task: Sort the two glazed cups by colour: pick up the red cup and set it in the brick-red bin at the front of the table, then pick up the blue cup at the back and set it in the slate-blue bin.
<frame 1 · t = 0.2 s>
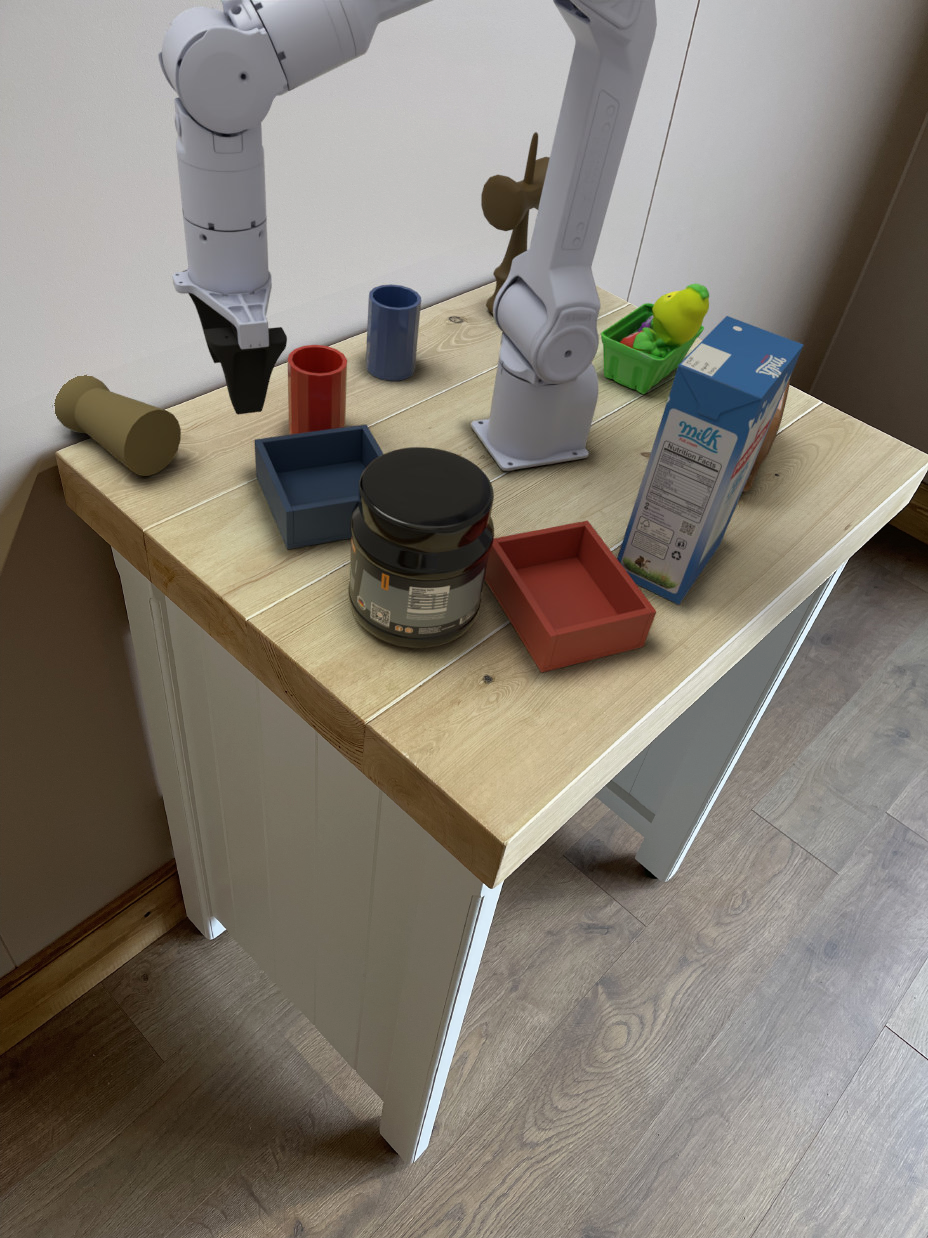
hand: (236, 384, 74), 10 cm above the table, tool pointing down, fingers open, 7 cm apart
supplement container: (413, 607, 73), on the table
red bin: (560, 610, 75), on the table
tin: (741, 466, 93), on the table
blue cup: (390, 367, 98), on the table
olive brown flared cylinder: (154, 443, 79), point 3 cm above the table
milk carton: (667, 560, 81), on the table
fruit basket: (646, 374, 103), on the table
kendama: (506, 313, 110), on the table
red cup: (317, 434, 88), on the table
blue bin: (328, 502, 81), on the table
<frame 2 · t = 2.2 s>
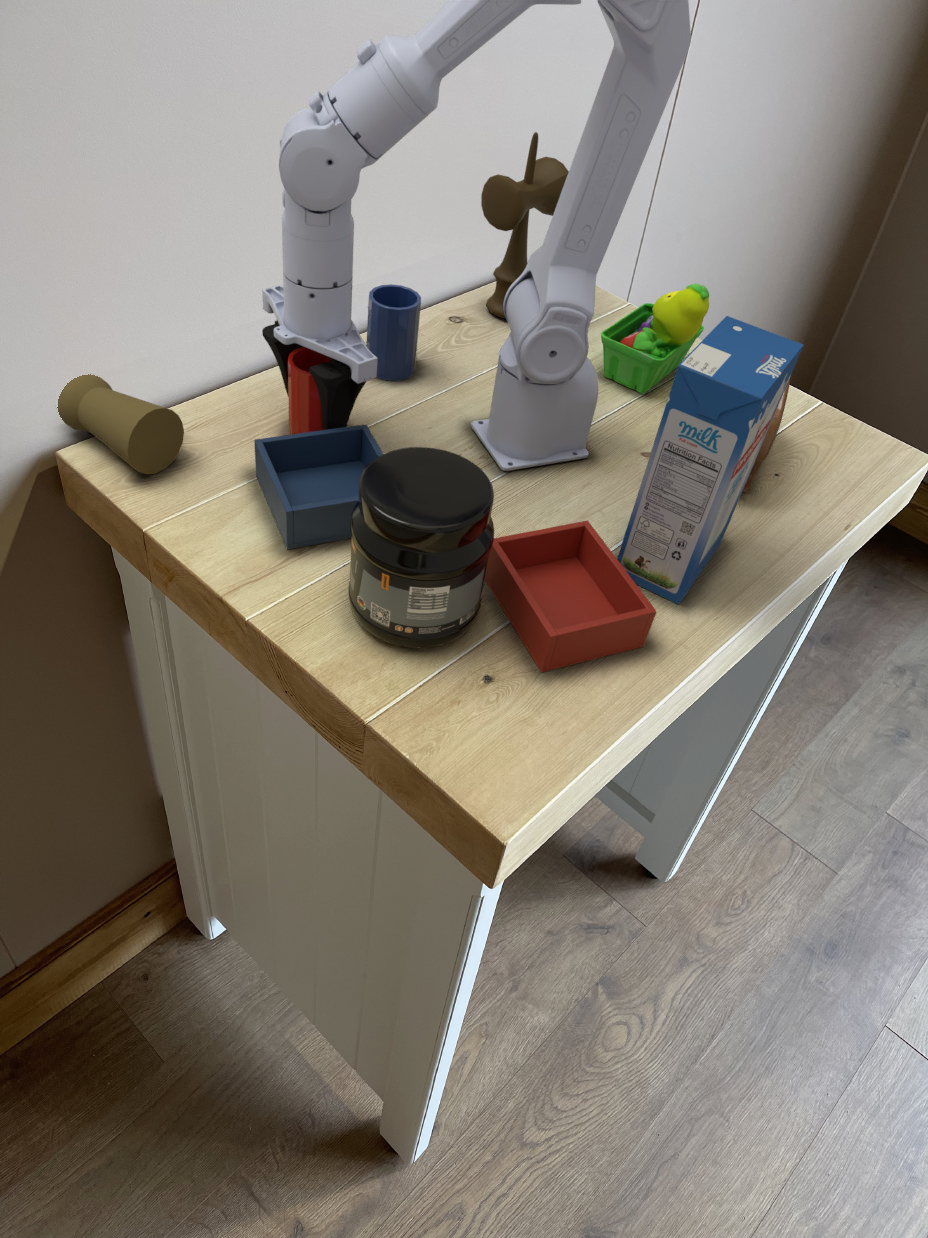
hand: (317, 413, 86), 2 cm above the table, tool pointing down, fingers closed on red cup, 5 cm apart
red cup: (317, 435, 88), on the table, touching gripper
everything else where it was.
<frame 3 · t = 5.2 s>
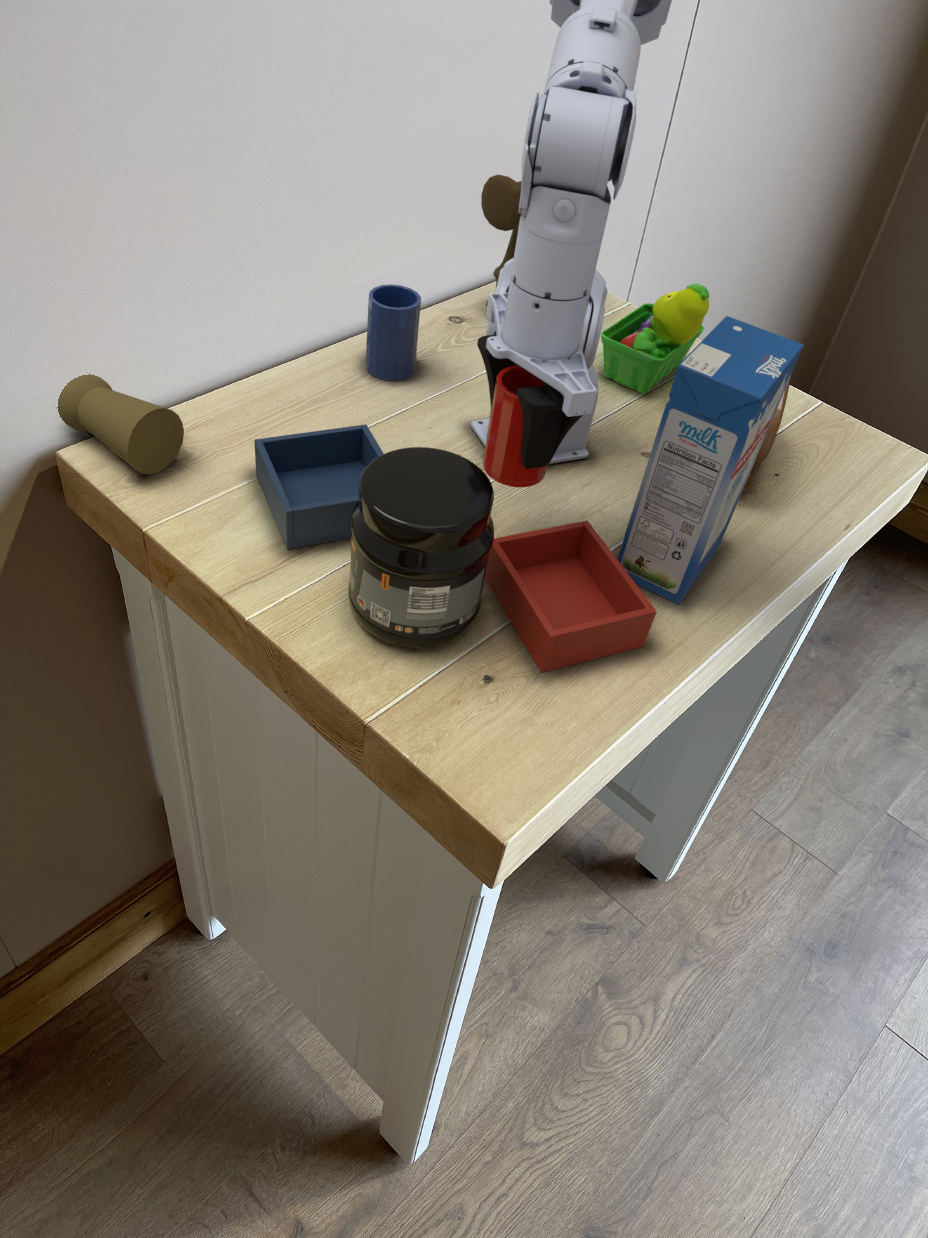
hand: (519, 443, 74), 9 cm above the table, tool pointing down, fingers closed on red cup, 5 cm apart
red cup: (514, 468, 76), point 7 cm above the table, touching gripper
everything else where it was.
when the fingers open (3 cm above the table, at t = 8.3 s): red cup stays where it is, resting on red bin.
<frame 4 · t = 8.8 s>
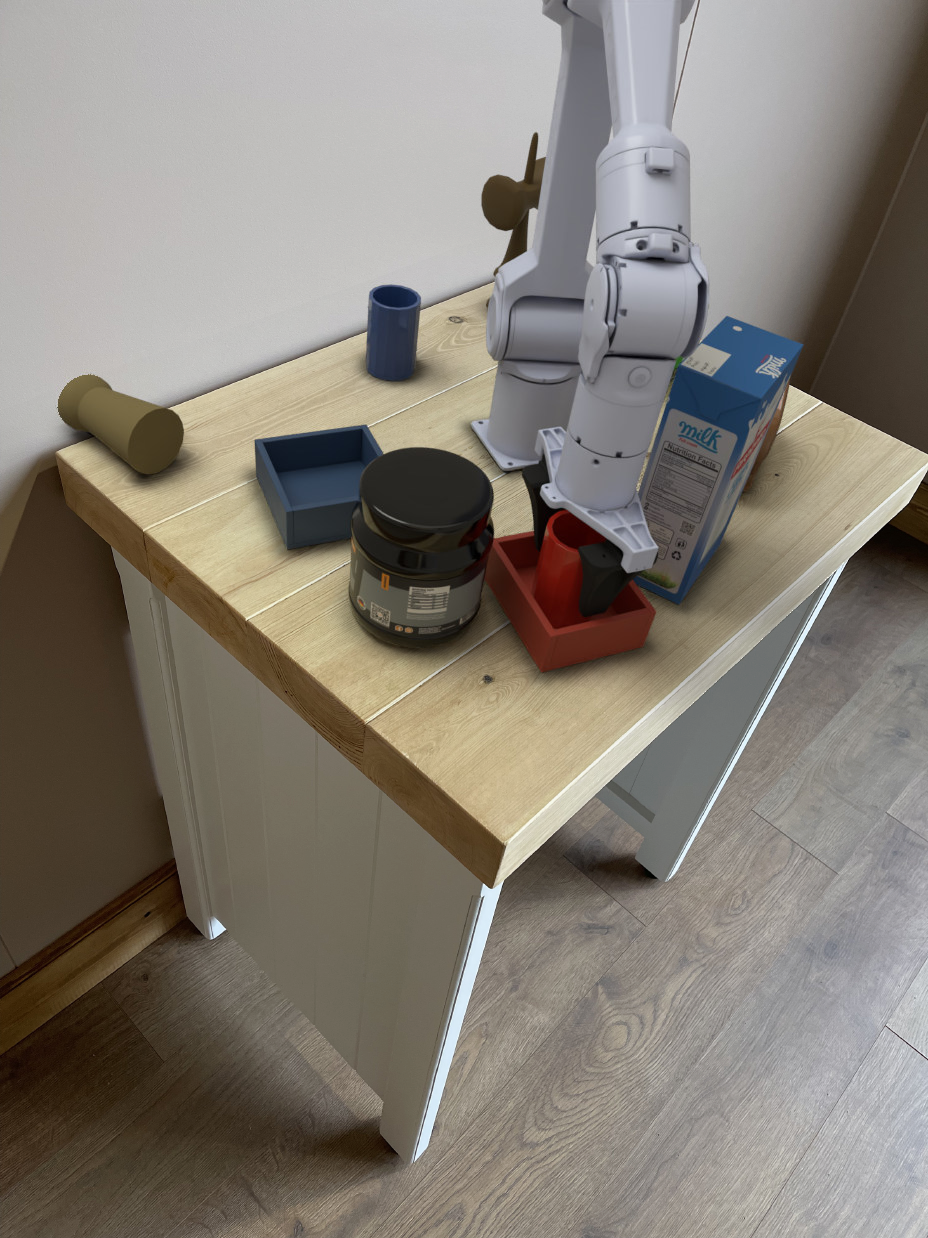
hand: (569, 578, 72), 4 cm above the table, tool pointing down, fingers open, 7 cm apart
red cup: (561, 606, 74), resting on red bin
everything else where it was.
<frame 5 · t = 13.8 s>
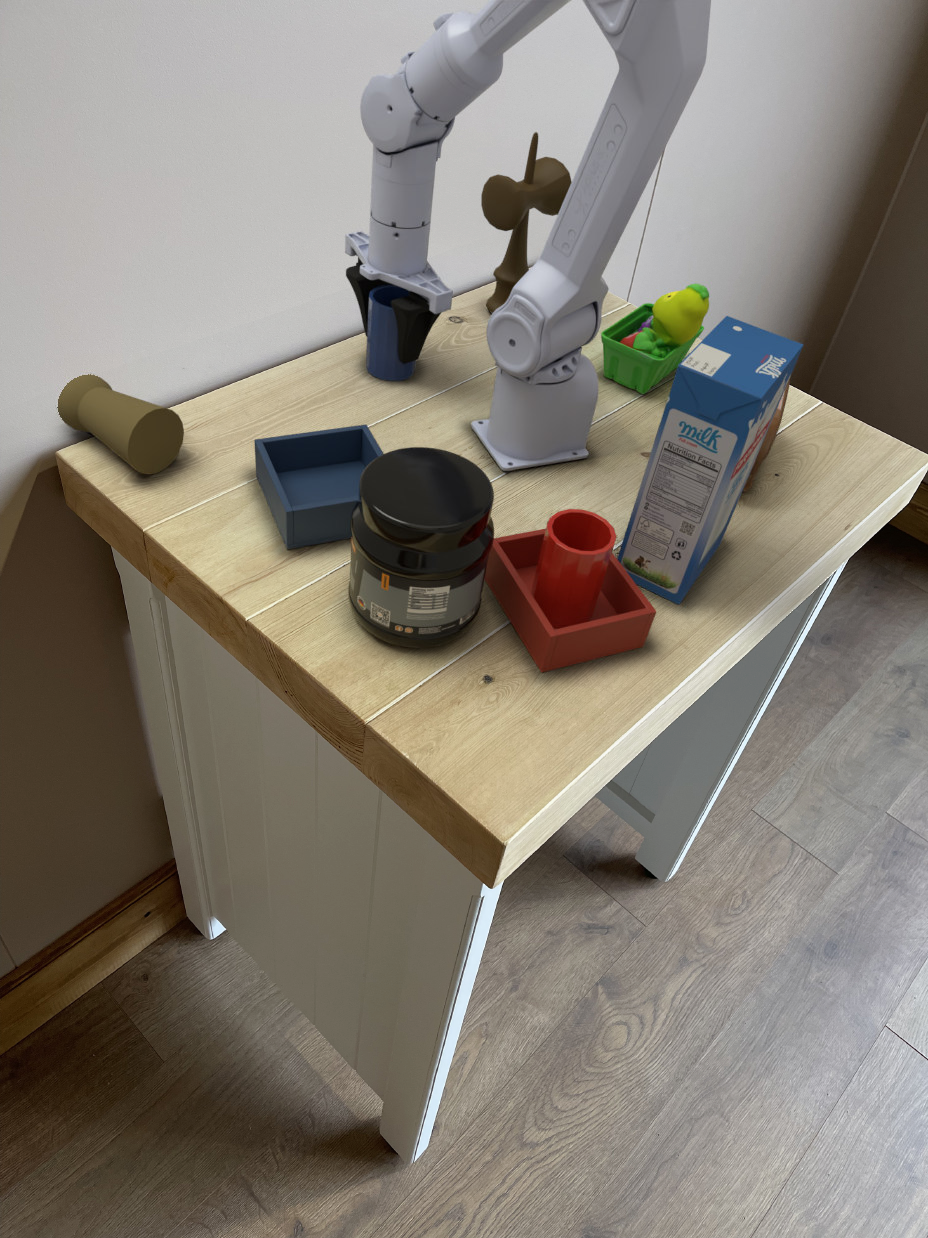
hand: (391, 347, 96), 2 cm above the table, tool pointing down, fingers closed on blue cup, 5 cm apart
blue cup: (390, 367, 98), on the table, touching gripper
everything else where it was.
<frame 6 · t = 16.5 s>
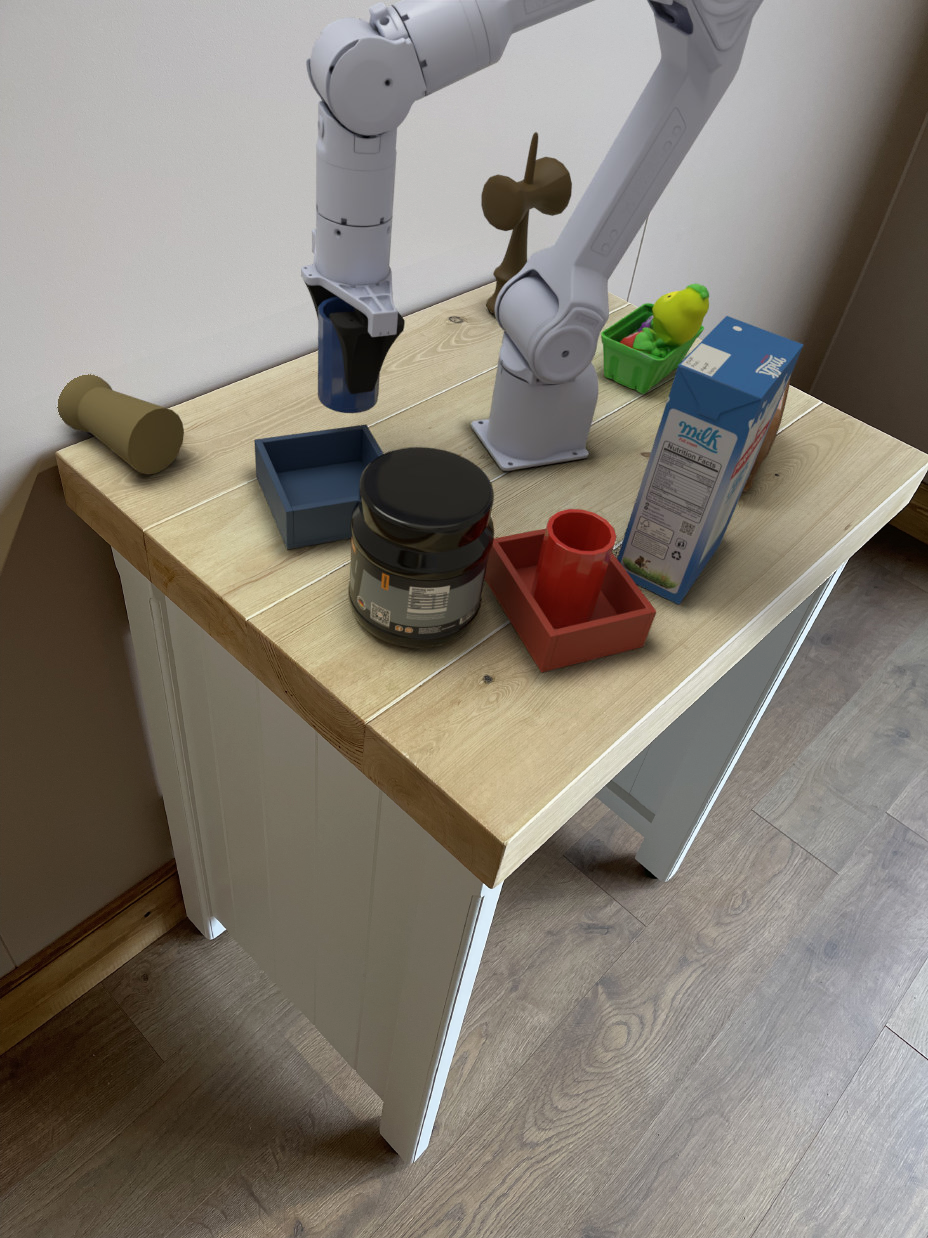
hand: (349, 371, 78), 9 cm above the table, tool pointing down, fingers closed on blue cup, 5 cm apart
blue cup: (347, 396, 80), point 7 cm above the table, touching gripper
everything else where it was.
when the fingers open (3 cm above the table, at t = 19.2 s): blue cup stays where it is, resting on blue bin.
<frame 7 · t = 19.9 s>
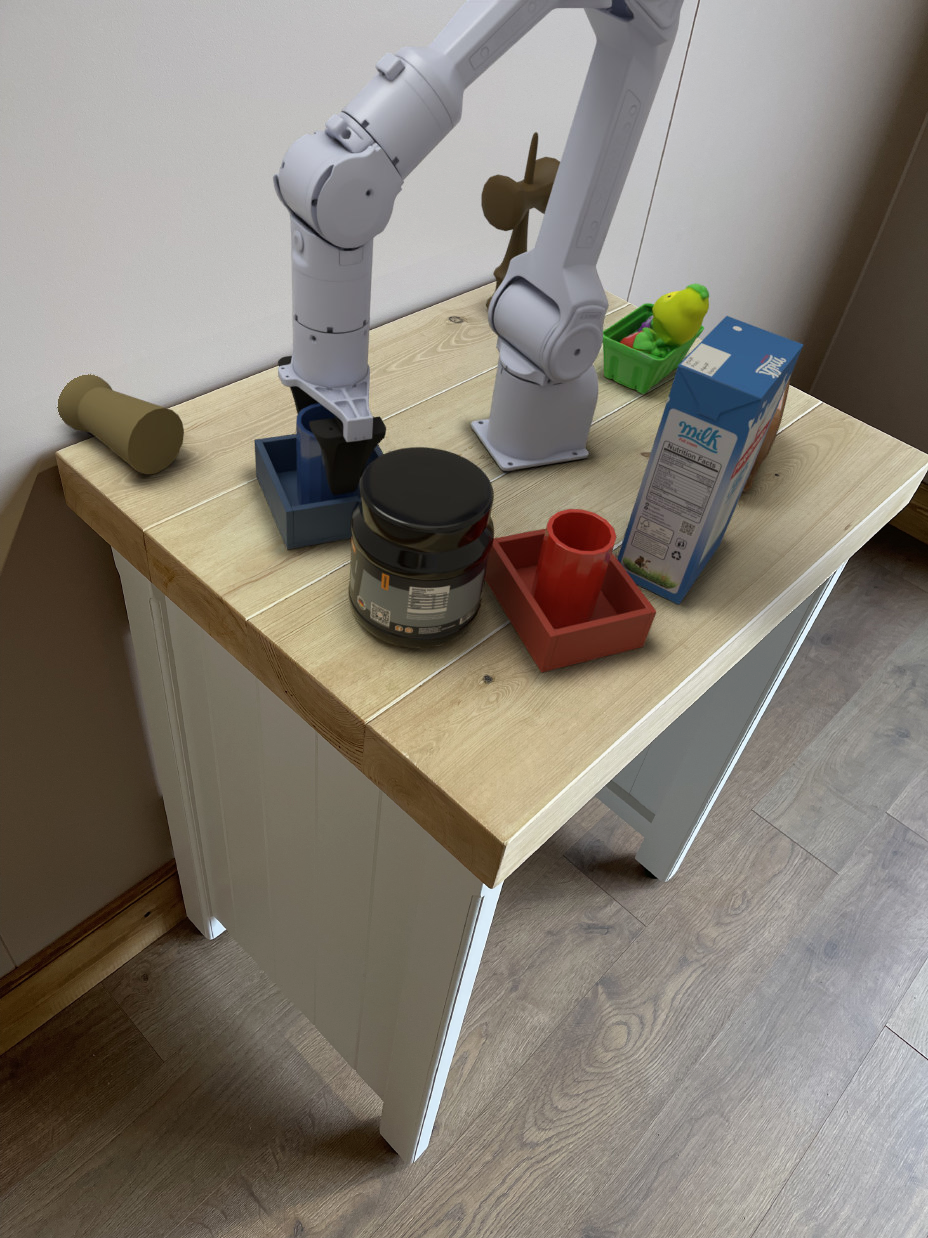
hand: (329, 463, 78), 4 cm above the table, tool pointing down, fingers open, 7 cm apart
blue cup: (327, 498, 80), resting on blue bin
everything else where it was.
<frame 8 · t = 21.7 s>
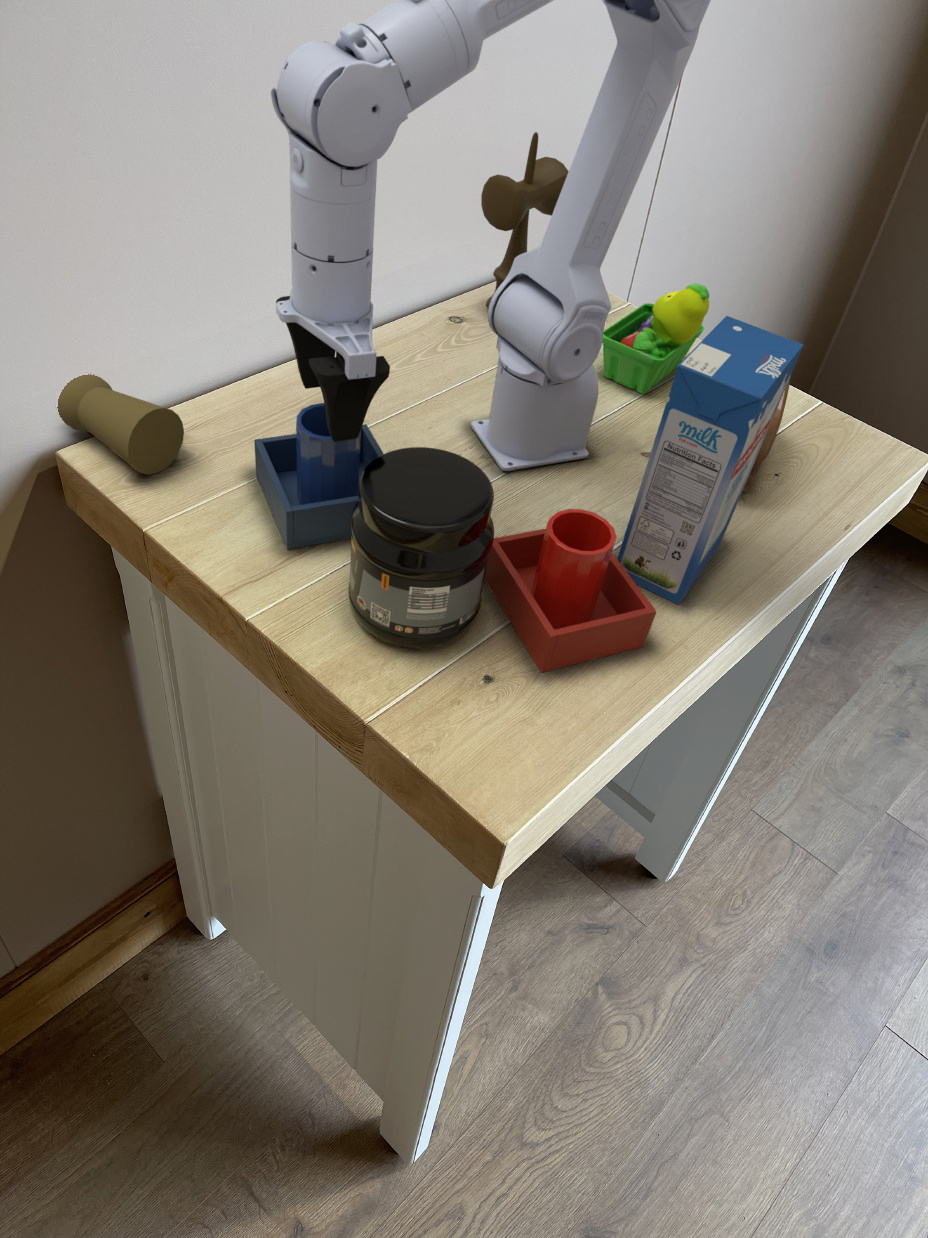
hand: (329, 410, 74), 9 cm above the table, tool pointing down, fingers open, 7 cm apart
nothing on the table moved.
at the end: red cup inside the target area in the red bin (0.1 cm from its centre), point 0.5 cm above the red bin's base; blue cup inside the target area in the blue bin (0.1 cm from its centre), point 0.5 cm above the blue bin's base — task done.
